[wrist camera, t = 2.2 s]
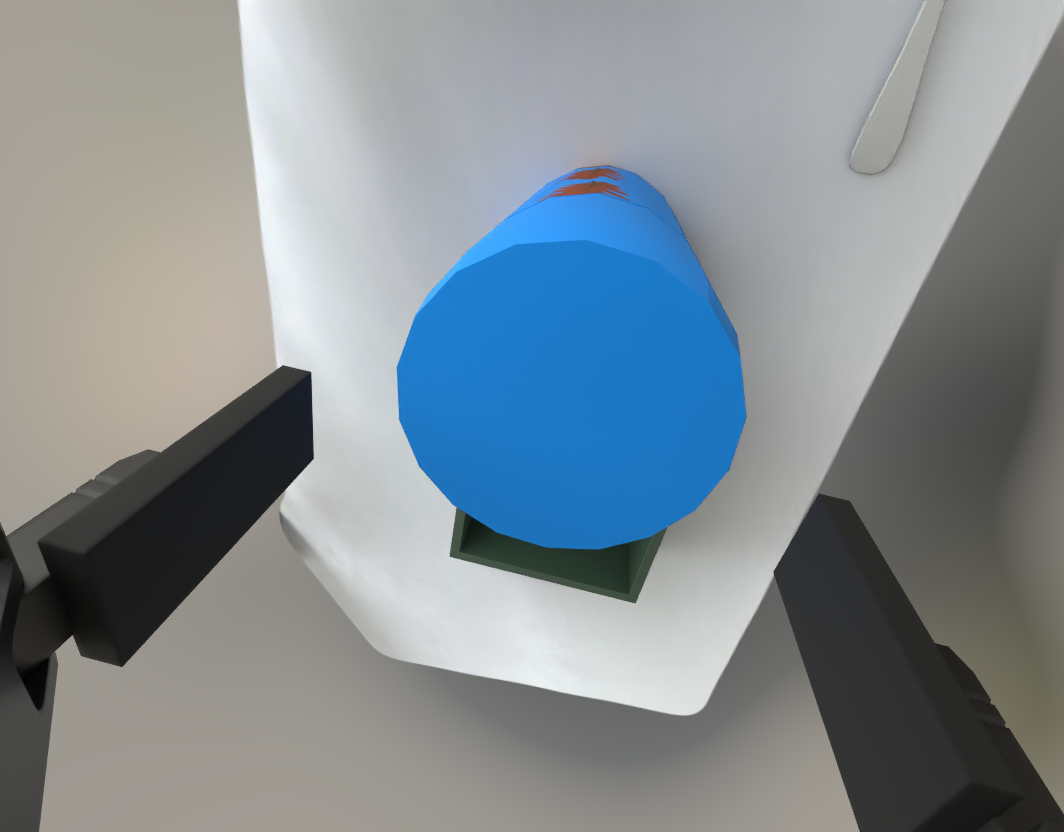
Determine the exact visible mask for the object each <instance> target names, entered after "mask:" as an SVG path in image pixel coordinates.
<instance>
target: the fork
mask: <svg viewBox="0 0 1064 832" xmlns="http://www.w3.org/2000/svg"><path fill="white" fill-rule="evenodd" d="M945 2H946V0H924V2H923V5H922V7H921V9H920V11H919V13H918V16H917V18H916V20H915V22H914V24H913V27H912V29H911V31H910V33H909V35H908V37H907V40H906V42H905V44H904V46H903V48H902V51H901V53H900V55H899V57H898V59H897V61H896V63H895V65H894V67H893V69H892V71H891V73H890V75H889V76H888V78H887V80H886V82H885V84H884V86H883V88H882V90H881V92H880V94H879V96H878V98H877V100H876V102H875V104H874V106H873V108H872V110H871V112H870V114H869V116H868V118H867V120H866V122H865V124H864V126H863V128H862V131H861V133H860V135H859V137H858V140H857V142H856V144H855V147H854V149H853V151H852V153H851V156H850V166H851V167H852V169H853V170H854V171H855V172H858V173H866V174H875V173H877V172H880V171H882V170H884V169H885V168H886V167H887V166H888V165H890V164H891V162H892V160H893V158H894V156H895V154H896V152H897V150H898V147H899V145H900V143H901V141H902V139H903V137H904V133H905V130H906V127H907V124H908V121H909V118H910V115H911V112H912V109H913V105H914V102H915V99H916V95H917V92H918V88H919V85H920V81H921V78H922V74H923V71H924V67H925V64H926V60H927V57H928V54H929V50H930V47H931V44H932V41H933V38H934V35H935V32H936V29H937V26H938V23H939V20H940V16H941V13H942V10H943V7H944V5H945Z"/></svg>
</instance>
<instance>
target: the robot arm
mask: <svg viewBox="0 0 1064 832" xmlns="http://www.w3.org/2000/svg"><path fill="white" fill-rule="evenodd" d="M313 459H314V452H313V416H312V380H311V372H309V371H304V370H300V369H296V368H292V367H288V366H284V365H283V366H281V367H280V368H278V369H277V370H276V371H274V372H273V373H271V374H270V375H269V376H267V377H266V378H264V379H263V380H262V381H260V382H259V383H258V384H256V385H255V386H253V387H252V388H251V389H249V390H248V391H246V392H245V393H243V394H242V395H241V396H239V397H238V398H236V399H235V400H234V401H232V402H231V403H229V404H228V405H227V406H225V407H224V408H223V409H221V410H220V411H218V412H217V413H216V414H214V415H213V416H211V417H210V418H208V419H207V420H206V421H204V422H203V423H201V424H200V425H199V426H197V427H196V428H195V429H193V430H192V431H190V432H189V433H187V434H186V435H185V436H183V437H182V438H181V439H179V440H178V441H176V442H175V443H173V444H172V445H171V446H169V447H168V448H167V449H165V450H164V451H162V452H161V453H160V452H156V451H152V450H145V451H143V452H140V453H138V454H135V455H132V456H130V457H127V458H125V459H122V460H119V461H118V462H116V463H115V464H113V465H112V466H110V467H109V468H107V469H106V470H104V471H103V472H101V473H100V474H99V475H97V476H96V478H95V479H94V480H89V481H88V482H86V483H85V484H83V485H82V486H80V487H79V488H77V489H76V492H75V493H70V494H68V495H67V496H66V497H64V498H62V499H61V500H60V501H58V502H57V503H55V504H54V505H52V506H51V507H49V508H48V509H46V510H45V511H43V512H42V513H40V514H39V515H37V516H36V517H34V518H33V519H32V520H30V521H29V522H27V523H25V524H24V525H22V526H21V527H19V528H18V529H16V530H15V531H13V532H12V533H10V534H9V535H7V536H6V535H5V533H4V530H3V528H2V525H1V523H0V832H39V827H40V818H41V809H42V801H43V800H42V799H43V792H44V783H45V774H46V766H47V757H48V748H49V739H50V730H51V721H52V713H53V704H54V696H55V687H56V678H57V669H58V662H57V657H56V653H55V651H56V650H57V649H58V648H59V647H60V646H61V645H62V644H63V643H64V642H65V641H66V640H67V639H68V638H69V637H71V636H72V635H73V637H74V639H75V641H76V644H77V647H78V649H79V652H80V654H81V656H83V657H86V658H90V659H94V660H98V661H101V662H105V663H109V664H113V665H116V666H120V667H123V665H125V663H126V662H127V661H128V660H129V659H130V658H131V657H132V656H133V655H134V654H135V653H136V651H137V650H138V649H139V648H140V647H141V646H142V645H143V644H144V643H145V642H146V640H148V638H149V637H150V636H151V635H152V634H153V633H154V632H155V631H156V630H157V629H158V628H159V626H160V625H161V624H162V623H163V622H164V621H165V620H166V619H167V618H168V617H169V615H171V613H172V612H173V611H174V610H175V609H176V608H177V607H178V606H179V604H181V603H182V602H183V600H184V599H185V598H186V597H187V596H188V595H189V594H190V593H191V592H192V591H193V590H194V588H195V587H196V586H197V585H198V584H199V583H200V582H201V581H202V580H203V579H204V578H205V576H206V575H207V574H208V573H209V572H210V571H211V570H212V569H213V568H214V567H215V566H216V565H217V563H218V562H219V561H220V560H221V559H222V558H223V557H224V556H225V555H226V554H227V553H228V551H229V550H230V549H231V548H232V547H233V546H234V545H235V544H236V543H237V542H238V541H239V539H240V538H241V537H242V536H243V535H244V534H245V533H246V532H247V531H248V530H249V529H250V528H251V526H252V525H253V524H254V523H255V522H256V521H257V520H258V519H259V518H260V517H261V515H262V514H263V513H264V512H265V511H266V510H267V509H268V508H269V507H270V506H271V505H272V503H274V501H275V500H276V499H277V498H278V497H279V496H280V495H281V494H282V493H283V492H284V491H285V489H286V488H287V487H288V486H289V485H290V484H291V483H292V482H293V481H294V480H295V479H296V478H297V476H298V475H299V474H300V473H301V472H302V471H303V470H304V469H305V468H306V467H307V466H308V464H309V463H310V462H311V461H312V460H313ZM774 575H775V578H776V581H777V584H778V587H779V590H780V593H781V596H782V599H783V602H784V605H785V608H786V611H787V614H788V617H789V620H790V623H791V626H792V629H793V632H794V635H795V638H796V641H797V644H798V647H799V650H800V653H801V656H802V659H803V662H804V665H805V668H806V671H807V674H808V677H809V680H810V683H811V686H812V689H813V692H814V695H815V698H816V701H817V704H818V707H819V710H820V713H821V716H822V719H823V722H824V725H825V728H826V731H827V734H828V737H829V740H830V743H831V746H832V749H833V752H834V755H835V758H836V761H837V764H838V767H839V770H840V773H841V776H842V779H843V782H844V785H845V788H846V791H847V794H848V797H849V800H850V803H851V806H852V809H853V812H854V815H855V818H856V821H857V824H858V827H859V830H860V832H1064V814H1063V813H1062V811H1061V809H1060V807H1059V806H1058V805H1057V803H1056V801H1055V800H1054V798H1053V797H1052V795H1051V793H1050V792H1049V790H1048V789H1047V787H1046V785H1045V784H1044V782H1043V781H1042V779H1041V778H1040V776H1039V774H1038V773H1037V771H1036V770H1035V768H1034V767H1033V765H1032V764H1031V762H1030V760H1029V759H1028V757H1027V756H1026V754H1025V752H1024V751H1023V749H1022V748H1021V746H1020V745H1019V743H1018V741H1017V740H1016V738H1015V737H1014V735H1013V734H1012V732H1011V730H1010V729H1009V728H1006V727H1005V721H1004V719H1003V718H1002V716H1001V715H1000V713H999V712H998V710H997V709H996V707H995V705H991V703H990V701H991V699H990V698H989V696H988V694H987V693H986V691H985V690H984V688H983V687H982V685H981V683H980V682H979V680H978V679H977V677H976V675H975V674H974V672H973V671H972V670H971V669H970V668H969V667H968V666H967V665H966V664H965V663H964V662H963V661H962V660H961V659H960V658H959V657H958V656H957V655H956V654H955V653H954V652H953V651H952V650H951V649H950V648H949V647H948V646H943V645H940V644H936V643H934V641H933V640H932V638H931V636H930V635H929V633H928V631H927V630H926V628H925V626H924V625H923V623H922V621H921V620H920V618H919V616H918V615H917V613H916V611H915V609H914V608H913V606H912V604H911V603H910V601H909V599H908V598H907V596H906V594H905V593H904V591H903V589H902V588H901V586H900V584H899V583H898V581H897V579H896V578H895V576H894V574H893V573H892V571H891V569H890V568H889V566H888V564H887V563H886V561H885V559H884V558H883V556H882V554H881V553H880V551H879V549H878V548H877V546H876V544H875V542H874V541H873V539H872V538H871V536H870V534H869V532H868V531H867V529H866V527H865V526H864V524H863V522H862V521H861V519H860V518H859V516H858V514H857V512H856V511H855V509H854V507H853V506H852V504H851V502H850V501H847V500H843V499H839V498H835V497H831V496H826V495H822V494H819V495H818V496H817V498H816V500H815V501H814V504H813V505H812V507H811V508H810V510H809V512H808V513H807V515H806V517H805V519H804V520H803V522H802V524H801V525H800V527H799V529H798V531H797V532H796V534H795V536H794V537H793V539H792V541H791V543H790V544H789V546H788V548H787V549H786V551H785V553H784V555H783V556H782V558H781V560H780V561H779V563H778V565H777V567H776V568H775V570H774Z"/></svg>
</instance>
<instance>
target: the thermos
mask: <svg viewBox="0 0 1064 832" xmlns="http://www.w3.org/2000/svg"><path fill="white" fill-rule="evenodd" d="M397 382H398V403H399V420H400V422H401V425H402V427H403V429H404V432H405V434H406V436H407V439H408V441H409V443H410V446H411V448H412V450H413V453H414V455H415V458H416V460H417V462H418V465H419V467H420V468H421V469H422V470H423V471H424V472H425V473H426V475H427V476H428V477H429V478H430V479H431V480H432V481H433V483H434V484H435V485H436V486H437V487H438V488H439V489H440V491H441V492H442V493H443V494H444V495H445V496H446V497H447V498H448V500H449V501H450V502H451V503H452V504H453V505H454V506H456V507H457V508H459V509H460V510H462V511H464V512H465V513H467V514H468V515H470V516H472V517H473V518H475V519H476V520H478V521H479V522H481V523H483V524H484V525H486V526H487V527H489V528H491V529H492V530H494V531H495V532H497V533H500V534H504V535H507V536H510V537H513V538H517V539H520V540H523V541H526V542H530V543H533V544H536V545H539V546H543V547H546V548H572V549H603V548H607V547H611V546H615V545H619V544H623V543H627V542H632V541H636V540H640V539H644V538H648V537H651V536H652V535H654V534H656V533H658V532H659V531H661V530H663V529H664V528H666V527H668V526H669V525H671V524H673V523H674V522H676V521H678V520H680V519H681V518H683V517H685V516H686V515H688V514H690V513H691V512H693V511H695V510H696V509H697V507H698V506H699V505H700V504H701V503H702V501H703V500H704V499H705V498H706V497H707V495H708V494H709V493H710V492H711V491H712V490H713V488H714V487H715V486H716V485H717V484H718V482H719V481H720V480H721V479H722V478H723V476H724V475H725V474H726V473H727V472H728V471H729V469H730V466H731V463H732V460H733V457H734V454H735V451H736V448H737V444H738V441H739V438H740V435H741V432H742V429H743V426H744V423H745V420H746V409H745V398H744V388H743V378H742V367H741V358H740V351H739V345H738V338H737V333H736V331H735V329H734V327H733V326H732V324H731V322H730V320H729V318H728V316H727V314H726V312H725V310H724V309H723V307H722V305H721V303H720V301H719V299H718V297H717V295H716V294H715V292H714V290H713V288H712V286H711V284H710V282H709V280H708V278H707V277H706V275H705V273H704V271H703V269H702V267H701V265H700V263H699V261H698V260H697V258H696V256H695V254H694V252H693V250H692V248H691V246H690V244H689V243H688V241H687V239H686V237H685V235H684V233H683V231H682V229H681V227H680V226H679V224H678V222H677V220H676V218H675V216H674V215H673V213H672V211H671V209H670V207H669V205H668V204H667V202H666V200H665V198H664V196H663V195H662V194H660V193H659V192H658V191H657V190H655V189H654V188H653V187H652V186H651V185H649V184H648V183H647V182H646V181H644V180H643V179H642V178H641V177H640V176H638V175H637V174H635V173H632V172H629V171H625V170H622V169H619V168H616V167H612V166H598V167H587V168H579V169H576V170H574V171H572V172H570V173H568V174H566V175H564V176H562V177H560V178H558V179H556V180H554V181H552V182H550V183H548V184H546V185H545V186H544V187H543V188H542V189H541V190H539V191H538V192H537V193H536V194H535V195H533V196H532V197H531V198H530V199H529V200H528V201H526V202H525V203H524V204H523V205H522V206H520V207H519V208H518V209H517V210H516V211H515V212H513V213H512V214H511V215H510V216H509V217H507V218H506V219H505V220H504V221H503V222H502V223H500V224H499V225H498V226H497V227H496V228H494V229H493V230H492V231H491V232H490V233H489V234H487V235H486V236H485V237H484V238H483V239H481V240H480V241H479V242H478V243H477V244H476V245H474V246H473V247H472V248H471V249H470V250H468V251H467V252H466V254H465V255H464V256H463V257H462V258H461V259H460V260H459V261H458V262H457V263H456V264H455V266H454V267H453V268H452V269H451V270H450V271H449V272H448V273H447V274H446V275H445V276H444V278H443V279H442V280H441V281H440V282H439V283H438V284H437V285H436V286H435V287H434V288H433V290H432V291H431V292H430V293H429V294H428V296H427V297H426V299H425V301H424V302H423V304H422V306H421V307H420V309H419V311H418V312H417V314H416V316H415V318H414V321H413V324H412V327H411V329H410V332H409V335H408V338H407V341H406V343H405V346H404V349H403V352H402V355H401V357H400V360H399V363H398V366H397Z"/></svg>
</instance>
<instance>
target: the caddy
mask: <svg viewBox="0 0 1064 832" xmlns="http://www.w3.org/2000/svg"><path fill="white" fill-rule="evenodd" d="M666 529H667V527H666V528H664V529H663V530H661V531H659V532H658V533H656V534H654V535H652V536H651V537H648V538H644V539H640V540H636V541H632V542H627V543H623V544H619V545H615V546H611V547H607V548H603V549H572V548H546V547H543V546H539V545H536V544H533V543H530V542H526V541H523V540H520V539H517V538H513V537H510V536H507V535H504V534H500V533H497V532H495V531H494V530H492V529H491V528H489V527H487V526H486V525H484V524H483V523H481V522H479V521H478V520H476V519H475V518H473V517H472V516H470V515H468V514H467V513H465V512H464V511H462V510H460V509H459V508H457V509H456V516H455V523H454V530H453V536H452V543H451V550H450V557H453V558H457V559H461V560H465V561H469V562H473V563H477V564H481V565H485V566H489V567H493V568H497V569H501V570H505V571H509V572H513V573H517V574H521V575H525V576H529V577H533V578H537V579H541V580H545V581H549V582H553V583H557V584H561V585H565V586H568V587H572V588H576V589H580V590H584V591H588V592H592V593H596V594H600V595H604V596H608V597H612V598H616V599H620V600H624V601H628V602H632V603H636V601H637V599H638V596H639V594H640V591H641V589H642V586H643V584H644V582H645V579H646V577H647V575H648V572H649V570H650V567H651V565H652V563H653V560H654V558H655V555H656V553H657V551H658V548H659V546H660V543H661V541H662V539H663V536H664V534H665V531H666Z"/></svg>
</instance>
